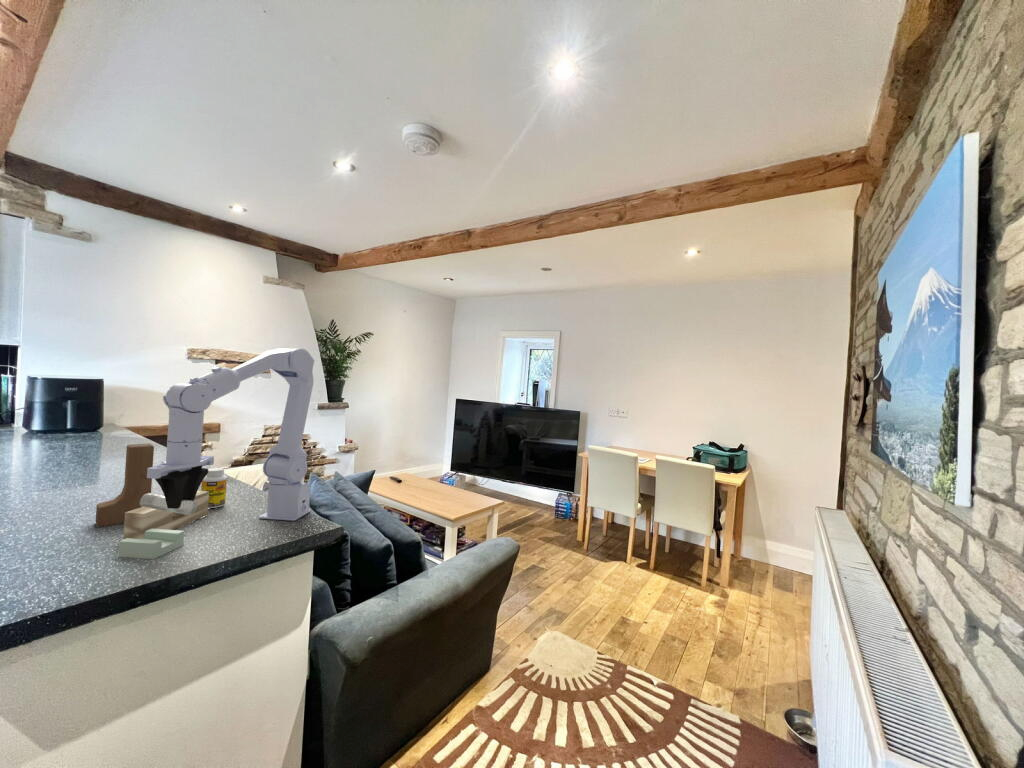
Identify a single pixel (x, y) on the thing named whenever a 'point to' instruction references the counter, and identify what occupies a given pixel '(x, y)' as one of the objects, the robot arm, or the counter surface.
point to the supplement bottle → (215, 487)
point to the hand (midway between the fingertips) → (180, 505)
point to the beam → (161, 518)
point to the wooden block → (128, 486)
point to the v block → (151, 544)
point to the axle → (160, 504)
